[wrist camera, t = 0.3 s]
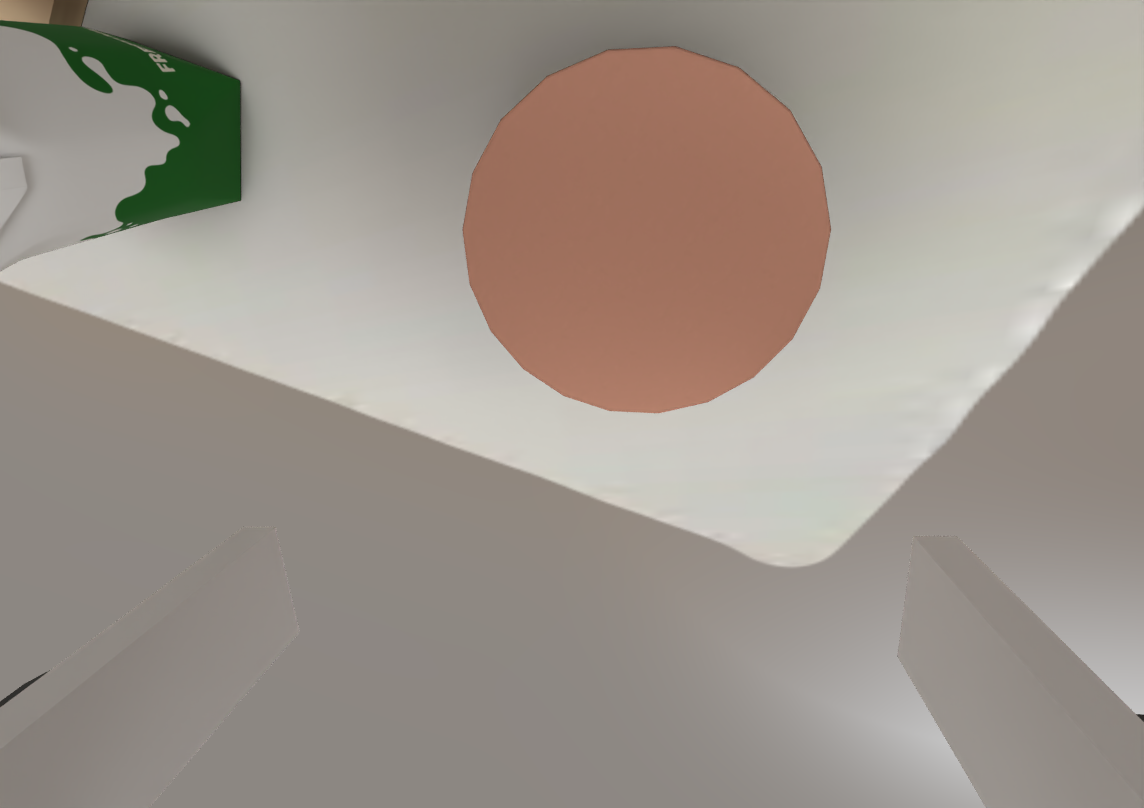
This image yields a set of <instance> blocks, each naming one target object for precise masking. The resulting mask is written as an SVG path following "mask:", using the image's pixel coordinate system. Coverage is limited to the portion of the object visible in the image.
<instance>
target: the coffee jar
mask: <svg viewBox="0 0 1144 808" xmlns="http://www.w3.org/2000/svg"><path fill="white" fill-rule="evenodd" d="M830 232H831V226H830V219H829V212H828V206H827V199H826V193H825V186H824V179H823V173H822V167H821V165H820V163H819V161H818V160H817V158H816V156H815V154H814V152H813V150H812V149H811V147H810V145H809V143H808V141H807V140H806V138H805V136H804V134H803V132H802V131H801V129H800V127H799V125H798V123H797V122H796V120H795V118H794V116H793V114H792V112H791V111H790V110H789V109H788V108H787V107H786V106H785V105H783V104H782V103H781V102H780V101H779V100H777V99H776V98H775V97H774V96H773V95H771V94H770V93H769V92H768V91H767V90H765V89H764V88H763V87H762V86H761V85H760V84H758V83H757V82H756V81H755V80H754V79H752V78H751V77H750V76H749V75H748V74H746V73H745V72H744V71H743V70H742V69H740V68H739V67H736V66H733V65H730V64H727V63H724V62H721V61H718V60H715V59H712V58H709V57H706V56H703V55H700V54H697V53H694V52H691V51H688V50H685V49H682V48H679V47H676V46H671V47H651V48H631V49H611V50H606V51H604V52H601V53H599V54H597V55H595V56H592V57H590V58H588V59H585V60H583V61H581V62H578V63H576V64H574V65H572V66H569V67H567V68H565V69H562V70H560V71H558V72H555V73H553V74H551V75H548V76H547V77H546V78H545V79H544V80H543V81H541V82H540V83H539V84H538V85H537V86H536V87H535V88H534V89H533V90H532V91H531V92H530V93H529V94H528V95H527V96H526V97H524V98H523V99H522V100H521V101H520V102H519V103H518V104H517V105H516V106H515V107H514V108H513V109H512V110H511V111H510V112H508V113H507V114H506V115H505V116H504V117H503V118H502V119H501V120H500V122H499V124H498V126H497V128H496V130H495V132H494V134H493V135H492V137H491V139H490V141H489V143H488V145H487V147H486V149H485V151H484V152H483V154H482V156H481V158H480V160H479V162H478V164H477V166H476V168H475V169H474V171H473V173H472V179H471V185H470V191H469V196H468V202H467V208H466V213H465V219H464V225H463V236H464V244H465V252H466V259H467V267H468V275H469V282H470V286H471V288H472V290H473V292H474V295H475V297H476V299H477V301H478V304H479V306H480V308H481V310H482V312H483V315H484V317H485V319H486V321H487V324H488V326H489V328H490V330H491V332H492V333H493V334H494V335H495V336H496V338H497V339H498V340H499V341H500V342H501V343H502V345H503V346H504V347H505V348H506V349H507V351H508V352H509V353H510V354H511V355H512V356H513V358H514V359H515V360H516V361H517V362H518V363H519V365H520V366H521V367H522V368H523V369H524V370H526V371H527V372H529V373H530V374H532V375H533V376H535V377H536V378H538V379H539V380H541V381H542V382H544V383H545V384H547V385H548V386H550V387H551V388H553V389H554V390H556V391H557V392H559V393H560V394H562V395H563V396H566V397H569V398H572V399H575V400H578V401H581V402H584V403H587V404H590V405H593V406H596V407H599V408H603V409H606V410H609V411H623V412H644V413H662V412H666V411H671V410H675V409H679V408H684V407H688V406H693V405H697V404H702V403H706V402H709V401H711V400H713V399H714V398H716V397H718V396H720V395H722V394H724V393H725V392H727V391H729V390H731V389H733V388H735V387H737V386H738V385H740V384H742V383H744V382H746V381H748V380H750V379H751V378H753V377H754V376H755V375H756V374H757V373H758V372H759V371H760V370H761V369H763V368H764V367H765V366H766V365H767V364H768V363H769V362H770V361H771V360H772V359H773V358H774V357H775V356H776V355H777V354H778V353H779V352H780V351H781V350H782V349H783V348H784V347H785V346H786V345H787V344H788V343H789V342H790V341H791V340H792V339H793V337H794V335H795V333H796V331H797V330H798V328H799V326H800V324H801V322H802V320H803V319H804V317H805V315H806V313H807V311H808V309H809V307H810V306H811V304H812V302H813V300H814V298H815V296H816V295H817V293H818V291H819V289H820V285H821V280H822V275H823V269H824V264H825V259H826V253H827V248H828V242H829V237H830Z"/></svg>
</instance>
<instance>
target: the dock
mask: <svg viewBox="0 0 1144 808" xmlns="http://www.w3.org/2000/svg"><path fill="white" fill-rule="evenodd" d="M87 1H88V0H0V20H5V21H18V22H31V23H44V24H57V25H69V26H78V27H81V24H82V21H83V17H84V13H85V9H86V5H87Z"/></svg>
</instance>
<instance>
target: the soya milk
mask: <svg viewBox="0 0 1144 808" xmlns="http://www.w3.org/2000/svg"><path fill="white" fill-rule="evenodd" d="M237 201H241V166H240V81H239V80H237V79H234V78H232V77H229V76H226V75H223V74H221V73H218V72H215V71H212V70H210V69H207V68H204V67H201V66H199V65H196V64H193V63H190V62H188V61H185V60H182V59H179V58H177V57H174V56H171V55H168V54H166V53H163V52H160V51H158V50H155V49H152V48H149V47H147V46H144V45H141V44H138V43H136V42H133V41H130V40H127V39H124V38H121V37H117V36H114V35H110V34H107V33H103V32H100V31H96V30H92V29H88V28H84V27H78V26H69V25H57V24H44V23H31V22H18V21H5V20H0V271H2V270H4V269H6V268H7V267H9V266H11V265H13V264H15V263H16V262H18V261H20V260H23V259H26V258H29V257H32V256H36V255H39V254H43V253H46V252H50V251H53V250H56V249H60V248H63V247H67V246H70V245H74V244H77V243H81V242H84V241H88V240H91V239H95V238H98V237H101V236H105V235H108V234H112V233H115V232H119V231H122V230H126V229H129V228H133V227H136V226H140V225H143V224H147V223H150V222H154V221H157V220H161V219H165V218H169V217H173V216H177V215H182V214H186V213H190V212H195V211H199V210H203V209H207V208H211V207H216V206H220V205H224V204H228V203H233V202H237Z"/></svg>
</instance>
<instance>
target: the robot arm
mask: <svg viewBox="0 0 1144 808" xmlns="http://www.w3.org/2000/svg"><path fill="white" fill-rule="evenodd" d="M298 634H299V627H298V623H297V618H296V614H295V609H294V605H293V601H292V597H291V592H290V588H289V583H288V580H287V575H286V570H285V566H284V561H283V557H282V553H281V549H280V544H279V540H278V535H277V531H276V527H243V528H241V529H240V530H239V531H237V532H236V533H235V534H233V535H232V536H231V537H229V538H228V539H226V540H225V541H224V542H222V543H221V544H220V545H218V546H217V547H216V548H214V549H213V550H212V551H210V552H209V553H208V554H206V555H205V556H204V557H202V558H201V559H200V560H198V561H197V562H196V563H194V564H193V565H191V566H190V567H189V568H188V569H186V570H185V571H184V572H182V573H181V574H179V575H178V576H177V577H175V578H174V579H173V580H171V581H170V582H169V583H167V584H166V585H165V586H163V587H162V588H160V589H159V590H158V591H157V592H155V593H154V594H152V595H151V596H150V597H148V598H147V599H146V600H144V601H143V602H142V603H140V604H139V605H138V606H136V607H135V608H134V609H132V610H131V611H130V612H128V613H127V614H125V615H124V616H123V617H121V618H120V619H119V620H117V621H116V622H115V623H113V624H112V625H111V626H109V627H108V628H107V629H105V630H104V631H103V632H101V633H100V634H99V635H97V636H96V637H95V638H93V639H92V640H90V641H89V642H88V643H87V644H85V645H84V646H82V647H81V648H80V649H78V650H77V651H76V652H74V653H73V654H72V655H70V656H69V657H68V658H66V659H65V660H64V661H62V662H61V663H60V664H58V665H57V666H55V667H54V668H53V669H51V670H49V671H48V672H46V673H44V674H42V675H40V676H38V677H36V678H35V679H33V680H31V681H29V682H27V683H25V684H24V685H22V686H21V687H19V688H18V689H17V690H15V691H14V692H13V693H11V694H10V695H9V696H7V697H6V698H4V699H3V700H2V701H1V702H0V808H149V807H150V806H151V805H152V804H153V803H154V802H155V800H156V799H157V798H158V797H159V796H160V794H161V793H162V792H163V791H164V790H165V789H166V788H167V786H168V785H169V784H170V783H171V782H172V781H173V779H174V778H175V777H176V776H177V774H178V773H179V772H180V771H181V770H182V769H183V768H184V766H185V765H186V764H187V763H188V761H190V760H191V758H192V757H193V756H194V755H195V754H196V753H197V751H198V750H199V749H200V748H201V747H202V746H203V744H204V743H205V742H206V741H207V740H208V738H209V737H210V736H211V735H212V734H213V733H214V731H215V730H216V729H217V728H218V727H219V726H220V725H221V723H222V722H223V721H224V720H225V719H226V718H227V716H228V715H229V714H230V713H231V712H232V711H233V709H234V708H235V707H236V706H237V705H238V703H239V702H240V701H241V700H242V699H243V698H244V696H245V695H246V694H247V693H248V692H249V691H250V690H251V688H252V687H253V686H254V685H255V684H256V682H257V681H258V680H259V679H260V678H261V677H262V675H263V674H264V673H265V672H266V671H267V670H268V668H269V667H270V666H271V665H272V664H273V663H274V661H275V660H276V659H277V658H278V657H279V656H280V655H281V653H282V652H283V651H284V650H285V649H286V647H287V646H288V645H289V644H290V643H291V642H292V640H293V639H294V638H295V637H296V636H297V635H298ZM897 657H898V658H899V660H900V662H901V663H902V665H903V667H904V668H905V670H906V672H907V674H908V675H909V677H910V679H911V680H912V682H913V684H914V686H915V687H916V689H917V691H918V692H919V694H920V695H921V697H922V699H923V701H924V702H925V704H926V706H927V708H928V710H929V711H930V713H931V715H932V716H933V718H934V720H935V721H936V723H937V725H938V727H939V728H940V730H941V732H942V733H943V735H944V737H945V739H946V740H947V742H948V744H949V745H950V747H951V749H952V750H953V752H954V754H955V756H956V757H957V759H958V761H959V762H960V764H961V766H962V768H963V769H964V771H965V773H966V774H967V776H968V778H969V779H970V781H971V783H972V785H973V786H974V788H975V790H976V791H977V793H978V795H979V797H980V798H981V800H982V802H983V803H984V805H985V807H986V808H1144V715H1140V714H1135V713H1134V712H1133V711H1132V710H1131V709H1130V708H1129V707H1128V706H1127V705H1126V704H1125V703H1124V702H1123V701H1122V700H1121V699H1120V698H1119V697H1118V696H1117V695H1116V694H1115V693H1114V692H1113V691H1112V690H1111V689H1110V688H1109V687H1108V686H1107V685H1106V684H1105V683H1104V682H1103V681H1102V680H1101V679H1100V678H1099V677H1098V676H1097V675H1096V674H1095V673H1094V672H1093V671H1092V670H1091V669H1090V668H1089V667H1088V666H1087V665H1086V664H1085V663H1084V662H1083V661H1082V660H1081V659H1080V658H1079V657H1078V656H1077V655H1076V654H1075V653H1074V652H1073V651H1072V650H1071V649H1070V648H1069V647H1068V646H1067V645H1066V644H1065V643H1064V642H1063V641H1062V640H1060V638H1059V637H1058V636H1057V635H1056V634H1055V633H1054V632H1053V631H1052V630H1051V629H1050V628H1048V627H1047V625H1046V624H1045V623H1043V622H1042V621H1041V619H1040V618H1039V617H1038V616H1037V615H1035V614H1034V613H1033V611H1032V610H1030V609H1029V608H1028V607H1027V606H1026V605H1025V604H1024V603H1023V602H1022V601H1021V600H1020V599H1019V598H1018V597H1017V596H1016V595H1015V594H1014V593H1013V592H1012V591H1011V590H1010V589H1009V588H1008V587H1007V586H1006V585H1005V584H1004V583H1003V582H1002V581H1001V580H1000V579H999V578H998V577H997V576H996V575H995V574H994V573H993V572H992V571H991V570H990V569H989V568H988V567H987V566H986V565H985V564H984V563H983V562H982V561H981V560H980V559H979V558H978V557H977V556H976V555H975V554H974V553H973V552H972V551H971V550H970V549H969V548H968V547H967V546H966V545H965V544H964V543H963V542H962V541H961V540H960V539H959V538H958V537H956V536H913V542H912V550H911V557H910V565H909V572H908V580H907V587H906V595H905V602H904V610H903V618H902V626H901V633H900V640H899V648H898V655H897Z"/></svg>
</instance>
